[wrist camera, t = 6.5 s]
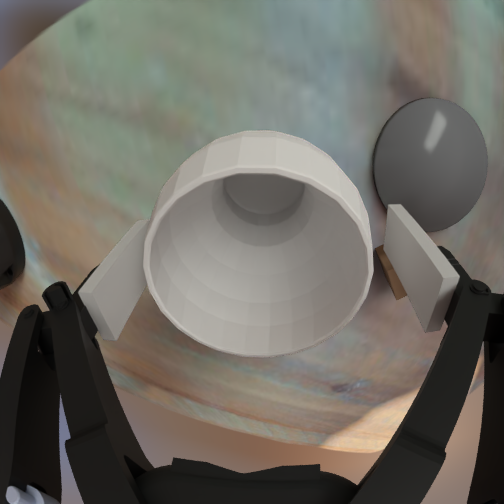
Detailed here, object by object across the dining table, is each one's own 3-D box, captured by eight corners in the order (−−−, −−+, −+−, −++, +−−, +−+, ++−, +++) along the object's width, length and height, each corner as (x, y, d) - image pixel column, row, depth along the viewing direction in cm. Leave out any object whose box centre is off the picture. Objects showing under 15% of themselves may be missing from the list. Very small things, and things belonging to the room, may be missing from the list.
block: (385, 276, 29) (396, 300, 26) (374, 248, 28) (387, 271, 24) (417, 260, 28) (431, 283, 25) (408, 231, 26) (424, 252, 23)
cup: (321, 107, 21) (395, 138, 8) (328, 224, 27) (371, 354, 14) (192, 123, 22) (96, 177, 10) (215, 235, 28) (173, 365, 15)
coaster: (369, 230, 27) (371, 234, 26) (371, 91, 20) (375, 91, 19) (472, 226, 25) (476, 229, 25) (487, 108, 19) (491, 109, 18)
